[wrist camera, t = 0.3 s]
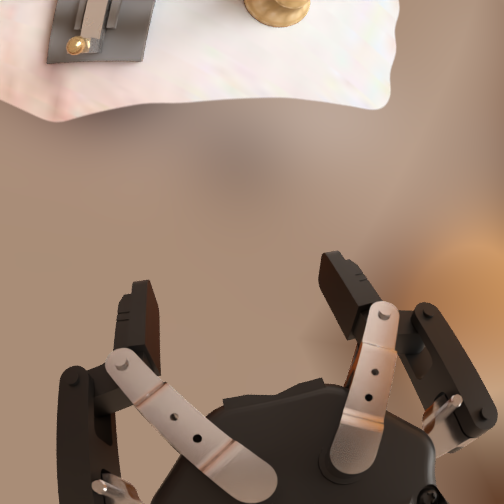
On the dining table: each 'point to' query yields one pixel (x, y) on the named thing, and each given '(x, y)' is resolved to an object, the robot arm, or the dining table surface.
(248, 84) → the dining table surface
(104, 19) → the bolt
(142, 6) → the lock plate
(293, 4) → the hand bell
